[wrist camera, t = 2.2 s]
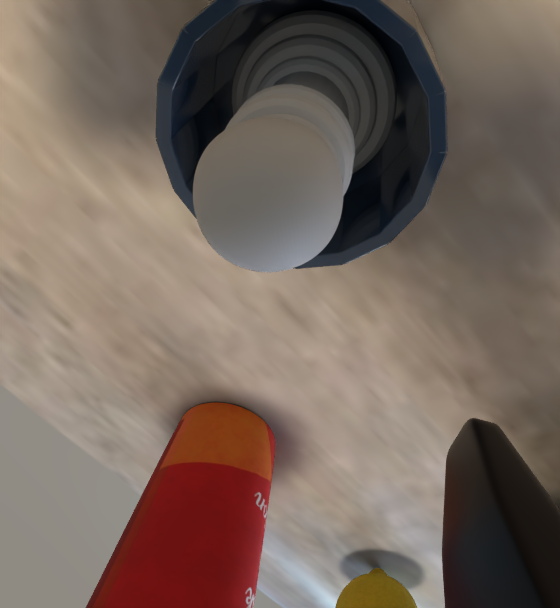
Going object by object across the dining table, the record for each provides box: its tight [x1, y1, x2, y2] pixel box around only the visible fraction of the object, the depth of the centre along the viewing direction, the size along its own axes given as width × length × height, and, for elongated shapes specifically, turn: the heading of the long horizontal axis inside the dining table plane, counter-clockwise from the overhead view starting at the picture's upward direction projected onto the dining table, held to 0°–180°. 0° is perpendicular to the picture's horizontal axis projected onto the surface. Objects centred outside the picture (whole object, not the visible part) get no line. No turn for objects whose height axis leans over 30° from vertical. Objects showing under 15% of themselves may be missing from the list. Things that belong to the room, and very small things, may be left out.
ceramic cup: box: [156, 0, 448, 269], centre depth 16 cm, size 8×8×5 cm
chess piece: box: [193, 10, 397, 272], centre depth 14 cm, size 5×5×9 cm
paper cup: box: [86, 402, 275, 608], centre depth 24 cm, size 8×8×14 cm
